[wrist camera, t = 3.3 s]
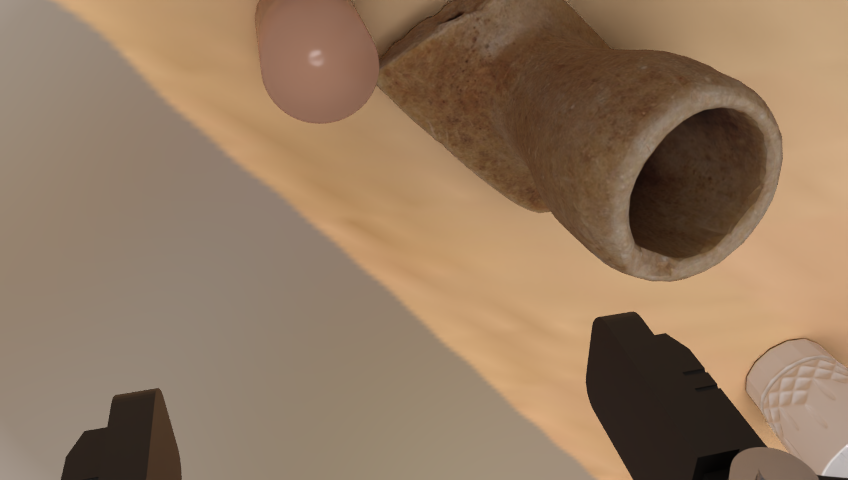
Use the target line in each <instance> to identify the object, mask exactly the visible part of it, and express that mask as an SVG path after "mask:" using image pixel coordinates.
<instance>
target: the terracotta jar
mask: <svg viewBox="0 0 848 480" xmlns="http://www.w3.org/2000/svg"><path fill="white" fill-rule="evenodd" d="M255 25H256V34H257V42H258V49H259V57H260V65H261V73H262V78H263V83H264V85H265V88H266V90H267V92H268V94H269V96H270V97H271V99H272V100H273V102H274V103H275V104H276V105H277V106H278V107H279V108H280V109H281V110H283V111H284V112H285V113H287V114H288V115H290V116H292V117H294V118H296V119H298V120H301V121H304V122H309V123H319V124H320V123H331V122H335V121H339V120H342V119H344V118H346V117H348V116H350V115H352V114H353V113H355V112H356V111H357V110H359V109H360V108H361V107H362V106H363V105H364V104H365V103H366V102H367V100H368V99H369V98H370V96H371V94H372V93H373V91H374V88H375V86H376V83H377V80H378V75H379V58H378V53H377V49H376V46H375V44H374V42H373V40H372V38H371V36H370V34H369V32H368V31H367V29H366V27H365V25H364V23H363V21H362V19H361V18H360V16H359V14H358V12H357V10H356V8H355V7H354V5H353V3H352V1H351V0H259V2H258V4H257V8H256V13H255Z"/></svg>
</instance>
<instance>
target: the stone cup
mask: <svg viewBox="0 0 848 480" xmlns="http://www.w3.org/2000/svg"><path fill="white" fill-rule="evenodd" d="M376 85H377V86H378V87H379V88H380V89H381V90H382V91H383V92H384V93H385V94H386V95H388V96H389V97H390V98H391V99H392V100H393V101H394V102H395V103H396V104H397V105H398V106H399V107H400V108H401V109H402V110H403V111H404V112H405V113H406V114H407V115H408V116H409V117H410V118H411V119H412V120H413V121H414V122H416V123H417V124H418V125H419V126H420V127H422V128H423V129H424V130H425V131H426V132H427V133H429V134H430V135H431V136H432V137H433V138H434V139H435V140H437V141H438V142H440V143H442V144H443V145H444V146H445V147H446V148H447V150H449V151H450V152H451V153H452V154H453V155H454V156H455V157H456V158H458V159H459V160H460V161H461V162H462V163H463V164H464V165H466V166H467V167H468V168H469V169H470V170H472V171H473V172H474V173H475V174H476V175H478V176H479V177H480V178H481V179H483V180H484V181H485V182H486V183H488V184H489V185H490V186H492V187H493V188H494V189H496V190H497V191H498V192H500V193H501V194H502V195H504V196H505V197H507V198H508V199H509V200H511V201H513V202H514V203H516V204H517V205H520V206H522V207H524V208H526V209H528V210H531V211H534V212H537V213H544V212H550V211H551V212H552V214H553V215H554V216H555V218H556V219H557V220H558V221H559V222H560V223H561V224H562V225H563V226H564V227H565V228H566V229H567V230H568V231H569V232H570V233H571V234H572V235H573V236H574V237H575V238H576V239H577V240H578V241H580V242H581V243H582V244H583V245H584V246H585V247H586V248H587V249H588V250H589V251H590V252H592V253H593V254H594V255H595V256H596V257H598V258H599V259H600V260H601V261H602V262H604V263H605V264H607V265H608V266H610V267H611V268H614V269H616V270H618V271H620V272H622V273H625V274H628V275H631V276H634V277H637V278H641V279H645V280H649V281H669V282H671V281H677V280H682V279H686V278H689V277H691V276H694V275H696V274H699V273H701V272H704V271H706V270H708V269H709V268H711V267H713V266H715V265H717V264H718V263H720V262H721V261H722V260H724V259H725V258H726V257H727V256H728V255H730V254H731V253H732V252H733V251H734V250H735V249H737V248H738V247H739V246H740V245H741V244H742V243H743V242H744V241H745V240H746V239H747V238H748V236H749V235H750V234H751V233H752V232H753V230H754V229H755V227H756V226H757V225H758V223H759V222H760V220H761V219H762V218H763V216H764V214H765V212H766V210H767V209H768V207H769V205H770V203H771V201H772V200H773V197H774V194H775V191H776V188H777V185H778V180H779V175H780V170H781V165H782V160H783V152H782V136H781V133H780V130H779V127H778V124H777V122H776V120H775V118H774V116H773V114H772V112H771V111H770V109H769V108H768V106H767V104H766V103H765V101H764V100H763V99H762V98H761V97H760V96H759V95H758V94H757V93H756V92H755V91H754V90H752V89H751V88H749V87H748V86H746V85H745V84H743V83H742V82H740V81H739V80H736V79H734V78H732V77H729V76H727V75H725V74H723V73H720V72H718V71H717V70H715V69H713V68H712V67H710V66H708V65H706V64H703V63H701V62H698V61H696V60H693V59H691V58H688V57H685V56H681V55H677V54H673V53H669V52H665V51H654V50H614V49H610V47H609V46H608V45H607V44H606V43H605V42H604V41H603V40H602V39H601V38H600V37H599V36H598V35H597V34H596V33H595V32H594V31H593V30H592V29H591V27H590V26H589V25H588V24H587V23H586V22H585V21H584V20H583V19H582V18H581V17H580V16H579V15H578V14H577V13H576V12H575V11H574V10H573V9H572V8H571V7H570V6H569V5H568V4H567V3H566V2H565V1H564V0H454V1H452V2H450V3H449V4H447V5H446V6H445V7H444V8H443V9H442V10H441V11H440V12H439V13H438V14H436V15H435V16H433V17H431V18H427V19H426V20H424V21H422V22H421V23H419V24H418V25H417V26H415V27H414V28H413V29H412V30H411V31H410V32H409V33H408V34H407V35H406V36H405V37H404V38H403V39H402V40H400V41H398V42H396V43H395V44H394V45H393V46H392V47H391V48H390V49H389V50H388V52H387V53H386V54H385V55H384V56H383V57H382V58H381V59H380V60H379V75H378V80H377V83H376Z"/></svg>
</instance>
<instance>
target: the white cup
mask: <svg viewBox="0 0 848 480" xmlns="http://www.w3.org/2000/svg"><path fill="white" fill-rule="evenodd" d="M746 391H747V393H748V394H749V396H750V397H751V399H752V400H753V401H754V403H755V404H756V405H757V407H758V408H759V409H760V411H761V412H762V414H763V415H764V417H765V420H766V422H767V423H768V424H769V426H770V427H771V428H772V430H773V431H774V433H775V435H776V436H777V437H778V439H779V440H780V441H781V443H782V444H783V445H784V447H785V448H786V449H787V451H788V452H789V453H790V454H791V455H793V456H795V457H797V458H798V459H800V460H802V461H803V462H804V463H805V464H807V465H808V466H809V467H810V468H811V469H812V470H813V471H814V472H815V474H816V475H822V476H830V477H842V478H848V368H847V367H845V366H844V365H842V364H841V363H839V362H838V361H837V360H836V359H835V358H834V357H832V356H831V355H830V354H829V353H828V352H827V351H826V350H825V349H824V348H822V347H821V346H820V345H819V344H818V343H815V342H812V341H809V340H807V339H798V340H791V341H786V342H784V343H782V344H780V345H778V346H776V347H774V348H772V349H770V350H769V351H768V352H766V353H765V354H764V355H763V356H762V357H761V358H760V359H759V360H757V361H756V362H755V364H754V366H753V367H752V369H751V371H750V372H749V374H748V376H747V383H746Z"/></svg>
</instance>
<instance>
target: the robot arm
mask: <svg viewBox="0 0 848 480" xmlns="http://www.w3.org/2000/svg"><path fill="white" fill-rule="evenodd" d="M586 387H587V393H588V397H589V400H590V403H591V406H592V408H593V410H594V412H595V414H596V415H597V417H598V419H599V421H600V422H601V424H602V426H603V428H604V429H605V431H606V433H607V435H608V436H609V438H610V440H611V442H612V443H613V445H614V447H615V449H616V450H617V452H618V454H619V456H620V457H621V459H622V461H623V463H624V464H625V466H626V468H627V470H628V471H629V473H630V475H631V477H632V478H633V480H848V478H842V477H830V476H822V475H816V474H815V472H814V471H813V470H812V469H811V468H810V467H809V466H808V465H807V464H805V463H804V462H803V461H802V460H800V459H798V458H797V457H795V456H793V455H791V454H789V453H787V452H784V451H781V450H778V449H774V448H768V447H767V446H766V445H765V444H764V443H763V441H762V440H761V439H760V438H759V436H758V435H757V434H756V433H755V431H754V430H753V429H752V428H751V426H750V425H749V424H748V422H747V421H746V420H745V419H744V417H743V416H742V415H741V414H740V412H739V411H738V410H737V409H736V407H735V406H734V405H733V404H732V402H731V401H730V400H729V399H728V397H727V396H726V395H725V393H724V392H723V391H722V390H721V388H719V389H718V387H717V383H716V382H715V381H714V380H713V378H712V377H711V376H710V375H709V373H708V372H705V368H704V367H703V366H702V364H701V363H700V362H699V361H698V359H697V358H696V357H695V356H694V354H693V353H692V352H691V351H690V349H689V348H687V347H686V346H684V345H682V344H681V343H679V342H678V341H676V340H675V339H673V338H672V337H670V336H669V335H667V334H666V333H665V334H659V335H654V334H653V333H652V331H651V330H650V329H649V327H648V326H647V325H646V323H645V322H644V321H643V319H642V318H641V317H640V316H639V315H638V314H637V313H636V312H627V313H621V314H615V315H609V316H603V317H597V318H596V319H595V320H594V322H593V325H592V333H591V341H590V349H589V357H588V365H587V373H586ZM181 479H182V476H181V463H180V456H179V451H178V447H177V443H176V440H175V436H174V433H173V429H172V426H171V422H170V419H169V415H168V412H167V408H166V405H165V401H164V398H163V395H162V392H161V390H160V389H159V388H156V389H150V390H144V391H138V392H132V393H127V394H120V395H115V396H114V397H113V400H112V403H111V409H110V415H109V421H108V427H106V428H100V429H95V430H89V431H84V433H83V434H82V435H81V437H80V438H79V440H78V441H77V442H76V444H75V445H74V447H73V448H72V449H71V451H70V452H69V454H68V455H67V456H66V460H65V465H64V469H63V473H62V477H61V480H181Z"/></svg>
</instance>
